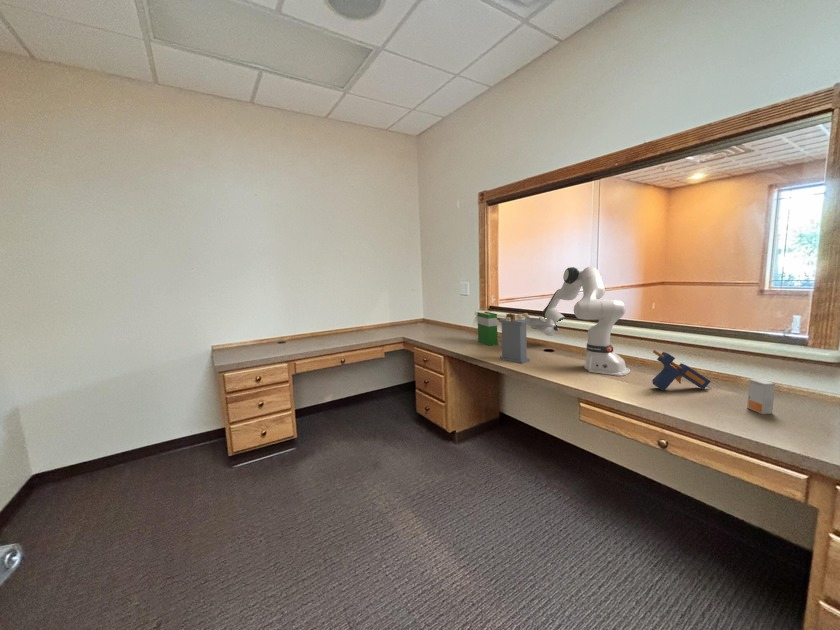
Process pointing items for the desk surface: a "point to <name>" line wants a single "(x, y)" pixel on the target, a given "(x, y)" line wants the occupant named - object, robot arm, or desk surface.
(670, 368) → the glue gun
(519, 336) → the stand
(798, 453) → the desk surface
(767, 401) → the skincare box
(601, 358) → the robot arm
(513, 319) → the marking gauge
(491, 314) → the green white box
